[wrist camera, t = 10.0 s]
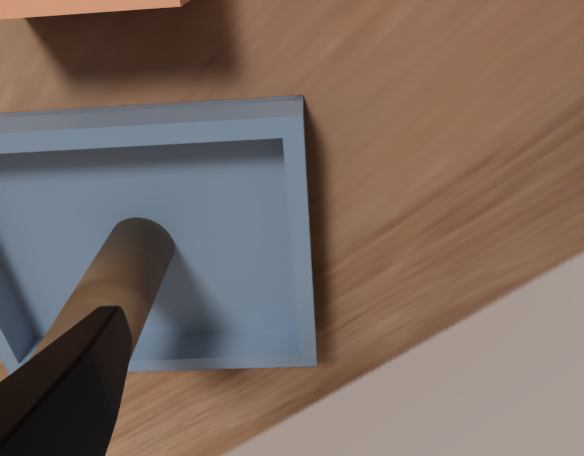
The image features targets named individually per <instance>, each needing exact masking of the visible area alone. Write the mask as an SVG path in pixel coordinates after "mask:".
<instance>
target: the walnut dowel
mask: <svg viewBox="0 0 584 456" xmlns="http://www.w3.org/2000/svg"><path fill="white" fill-rule="evenodd" d="M173 253H174V244H173V240H172V238H171V236H170V234H169V233H168V232H167V231H166V230H165V229H164V228H163V227H162V226H161V225H159V224H158V223H156V222H154V221H152V220H149V219H146V218H140V217H134V218H128V219H125V220H122V221H121V222H119V223H118V224H117V225H116V226H115V227H114V228H113V230H112V231H111V233H110V235H109V236H108V238H107V239H106V241H105V242H104V244H103V245H102V247H101V249H100V250H99V252H98V253H97V255H96V256H95V258H94V260H93V261H92V263H91V264H90V266H89V267H88V269H87V271H86V272H85V274H84V275H83V277H82V278H81V280H80V281H79V283H78V285H77V286H76V288H75V289H74V291H73V292H72V294H71V296H70V297H69V299H68V300H67V302H66V303H65V305H64V307H63V308H62V310H61V311H60V313H59V314H58V316H57V317H56V319H55V321H54V322H53V324H52V325H51V327H50V328H49V330H48V332H47V333H46V335H45V336H44V338H43V339H42V341H41V343H40V344H39V346H38V347H37V349H36V350H35V352H34V353H33V355H32V357H34V356H35V355H36V354H37V353H39V352H40V351H41V350H43V349H44V348H45V347H47V346H48V345H49V344H50V343H52V342H53V341H54V340H56V339H57V338H58V337H60V336H61V335H62V334H64V333H65V332H66V331H67V330H69V329H70V328H71V327H73V326H74V325H75V324H77V323H78V322H79V321H80V320H82V319H83V318H84V317H86V316H87V315H88V314H90V313H91V312H92V311H93V310H95V309H96V308H98V307H100V306H108V305H119V306H121V307H122V308H123V310H124V312H125V315H126V318H127V321H128V324H129V327H130V330H131V334H132V338H133V347H132V352H131V357H132V355H133V352H134V350H135V347H136V345H137V342H138V340H139V337H140V335H141V332H142V330H143V327H144V325H145V323H146V320H147V318H148V315H149V313H150V310H151V308H152V305H153V303H154V300H155V298H156V295H157V293H158V291H159V288H160V286H161V283H162V281H163V278H164V276H165V273H166V271H167V268H168V266H169V264H170V261H171V259H172V256H173ZM32 357H31V358H32ZM131 357H130V359H131ZM31 358H30V359H31ZM129 362H130V361H129Z"/></svg>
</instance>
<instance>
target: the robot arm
mask: <svg viewBox="0 0 584 456" xmlns="http://www.w3.org/2000/svg"><path fill="white" fill-rule="evenodd" d="M132 347H133V338H132V334H131V330H130V327H129V324H128V321H127V318H126V315H125V312H124V310H123V308H122V307H121V306H119V305H108V306H100V307H98V308H96V309H95V310H93V311H92V312H91V313H90V314H88V315H87V316H86V317H84V318H83V319H82V320H80V321H79V322H78V323H77V324H75V325H74V326H73V327H71V328H70V329H69V330H67V331H66V332H65V333H64V334H62V335H61V336H60V337H58V338H57V339H56V340H54V341H53V342H52V343H50V344H49V345H48V346H47V347H45V348H44V349H43V350H41V351H40V352H39V353H37V354H36V355H35V356H34V357H32V358H31V359H30V360H28V361H27V362H26V363H24V364H23V365H22V366H21V367H19V368H18V369H17V370H15V371H14V372H13V373H11V374H10V375H9V376H8V377H6V378H5V379H4V380H2V381H1V382H0V456H105V454H106V451H107V448H108V445H109V442H110V439H111V436H112V433H113V430H114V427H115V424H116V420H117V416H118V412H119V408H120V404H121V399H122V394H123V390H124V385H125V380H126V375H127V371H128V366H129V361H130V357H131V352H132Z"/></svg>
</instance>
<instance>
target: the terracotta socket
mask: <svg viewBox="0 0 584 456" xmlns="http://www.w3.org/2000/svg"><path fill="white" fill-rule="evenodd" d="M188 1H190V0H0V19H12V18H26V17H40V16H54V15H68V14H82V13H97V12H111V11H125V10H139V9H153V8H167V7H181V6H182V5H184V4H185V3H187V2H188Z"/></svg>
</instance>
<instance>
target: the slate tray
mask: <svg viewBox="0 0 584 456" xmlns="http://www.w3.org/2000/svg"><path fill="white" fill-rule="evenodd" d="M134 217H140V218H146V219H149V220H152V221H154V222H156V223H158V224H159V225H161V226H162V227H163V228H164V229H165V230H166V231H167V232H168V233H169V234H170V236H171V238H172V240H173V244H174V253H173V256H172V259H171V261H170V264H169V266H168V268H167V271H166V273H165V276H164V278H163V281H162V283H161V286H160V288H159V291H158V293H157V295H156V298H155V300H154V303H153V305H152V308H151V310H150V313H149V315H148V318H147V320H146V323H145V325H144V327H143V330H142V332H141V335H140V337H139V340H138V342H137V345H136V347H135V350H134V352H133V355H132V357H131V359H130V362H129V366H128V371H127V372H140V371H174V370H207V369H241V368H274V367H307V366H317V347H316V321H315V303H314V285H313V267H312V249H311V231H310V213H309V194H308V176H307V158H306V140H305V122H304V104H303V95H300V96H283V97H266V98H250V99H233V100H216V101H199V102H183V103H166V104H149V105H133V106H116V107H99V108H83V109H66V110H49V111H33V112H16V113H0V359H1V360H2V362H3V364H4V366H5V368H6V370H7V371H8V373H9V375H10V374H11V373H13V372H14V371H15V370H17V369H18V368H19V367H21V366H22V365H23V364H24V363H26V362H27V361H28V360H30V358H31V357H32V355H33V353H34V352H35V350H36V349H37V347H38V346H39V344H40V343H41V341H42V339H43V338H44V336H45V335H46V333H47V332H48V330H49V328H50V327H51V325H52V324H53V322H54V321H55V319H56V317H57V316H58V314H59V313H60V311H61V310H62V308H63V307H64V305H65V303H66V302H67V300H68V299H69V297H70V296H71V294H72V292H73V291H74V289H75V288H76V286H77V285H78V283H79V281H80V280H81V278H82V277H83V275H84V274H85V272H86V271H87V269H88V267H89V266H90V264H91V263H92V261H93V260H94V258H95V256H96V255H97V253H98V252H99V250H100V249H101V247H102V245H103V244H104V242H105V241H106V239H107V238H108V236H109V235H110V233H111V231H112V230H113V228H114V227H115V226H116V225H117V224H118V223H119V222H121V221H122V220H125V219H128V218H134Z"/></svg>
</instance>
